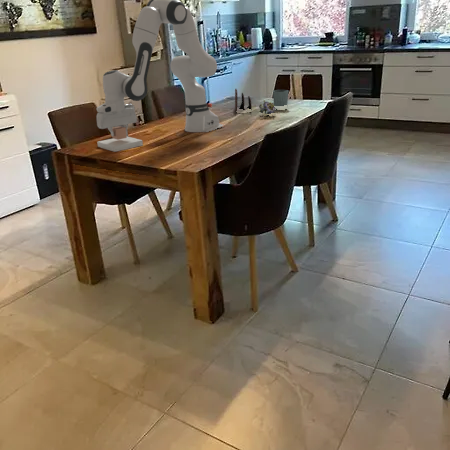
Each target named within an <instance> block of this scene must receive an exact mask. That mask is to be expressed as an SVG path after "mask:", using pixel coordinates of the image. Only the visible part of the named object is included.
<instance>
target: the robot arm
mask: <svg viewBox="0 0 450 450" xmlns="http://www.w3.org/2000/svg"><path fill="white" fill-rule="evenodd" d="M193 16H194V15H193V13H192V11H191V9H190V8H189V7H188V6H186V5H185V4H184V3H183V2H182V1H180V0H149V1H148V2H147V3H146V6H144V7H142V8H141V9H140V11H139V14H138V16H137V19H136V21H135V24H134V28H133V31H132V32H133V33H132V41H131V42H132V45H133V47H134V50H135V55H136V56H135V57H136V58H135V63H134V68H133V73H132V75H128V74H125V73H124V72H121V71H120V70H117V69H115V70H108V71H107V72H104V73H103V76H102V87H103V88H102V89H103V94H104V96H105V97H104V103H102V104H100V105H99V106H97V107H96V111H97V113H96V126H97V128H98V129H101V130H104V129H108V131H109V132H110V136H111V137H112V136H115V132H113V131H112V129H113V127H115V126H120V125H123V126H124V127H125V128H126V134H127V131H128V127H129V124H135V123H137V119H138V118H137V114H136V109H135V105H134V104H132V103H129V104H128V103H126V104H125V98H126V97H127V98H129V99H130V100H131V101H134V102H139V101H142V100H143V99H144V98H145V97H146V96H147V94H148V84H147V78H148V74H149V69H150V64H151V59H152V54H153V52H154V49H155V46H156V42H157V40H158V37H159V31H160V27H161V25H162V24H168V25H169V24H170V25H172V28H173V33H174V37H175V40H176V44H177V47H178V49H179V50H180V51H182V52H183V53H185V54H186V55H179V56H174V57H173V58H172V59H171V61H170V71H171V73H172V74H173V75H174V76H175V77H176V78H177V79H178V80H179V81H180V83H181V85H182V87H183V91H184V92H183V93H184V99H185V104H184V110H185V127H184V131H185V132H189V133H209V131H210V132H212V130H213V131H215V129H216V130H218V129H217V128H219V129H221V128H220V127H222V126H224V124H221V123H220V119H219V116H218V115H217V114H215V113H214V112H213V111H211V110H210V108H212V107H213V104H212V103H207V100H206V99H207V98H206V89H205V86H203V85H202V84H200V83H199V82H198V81H197V79H196V78H208V77H212V76H214V75H215V74H216V73H217V72H216V71H217V69H218V63H217V60H216V58H215V57H213V56H212V55H210V54H209V53H208V52H207V51H206V50H205V49H204V47H203V45H202V43H201V42H200V39H199V35H198V32H197V26H196V23H195V20H194V17H193ZM222 128H223V127H222Z"/></svg>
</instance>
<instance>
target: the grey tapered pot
mask: <svg viewBox="0 0 450 450" xmlns="http://www.w3.org/2000/svg"><path fill="white" fill-rule="evenodd" d="M289 93H290V92H289V90H288V89H276V90H272V95H273V104H274V106H284V105H287V106H288V102H289Z"/></svg>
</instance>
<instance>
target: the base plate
mask: <svg viewBox="0 0 450 450" xmlns="http://www.w3.org/2000/svg"><path fill="white" fill-rule="evenodd" d="M96 143H97V147H98V148H101V149H104V150H107V151H111V152H120V151H125V150H129V149H133V148H137V147H143V146H144V142H143V140H142V139H140V138H136V137H132V136H129V135H128V136H127V138H123V139H119V140H117V139H113V138H108V139H104V140H99V141H97V142H96Z"/></svg>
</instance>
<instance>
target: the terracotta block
mask: <svg viewBox="0 0 450 450" xmlns="http://www.w3.org/2000/svg"><path fill="white" fill-rule="evenodd" d="M112 131H113V132H115V136H111V137H112V138H111V139H117V140H119V139H123V138H127V136H126V128H125V127H121V126H119V127H114V128H113V129H112Z"/></svg>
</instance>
